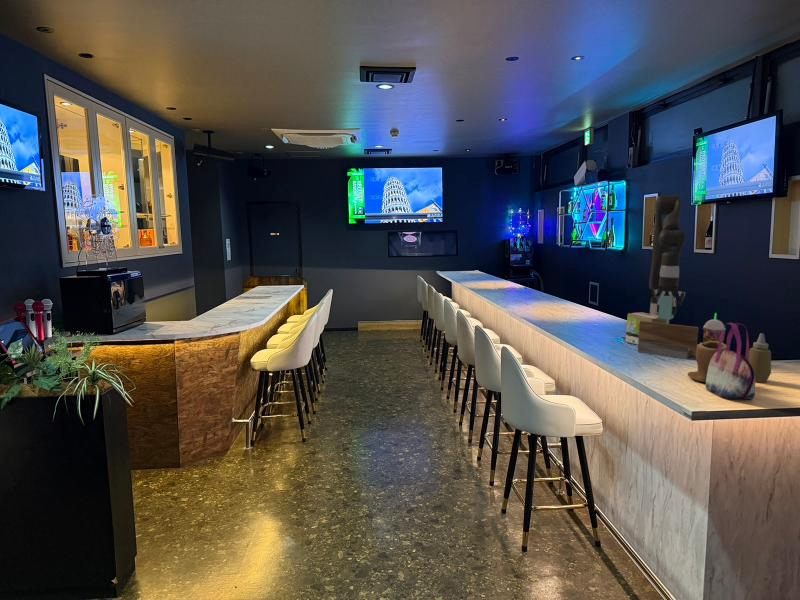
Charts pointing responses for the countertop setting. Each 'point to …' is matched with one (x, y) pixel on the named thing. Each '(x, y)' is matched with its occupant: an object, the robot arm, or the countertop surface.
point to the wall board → (667, 339)
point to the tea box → (634, 324)
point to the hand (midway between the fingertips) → (666, 313)
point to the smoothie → (713, 330)
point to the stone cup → (704, 359)
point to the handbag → (731, 370)
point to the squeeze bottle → (760, 359)
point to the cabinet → (666, 307)
